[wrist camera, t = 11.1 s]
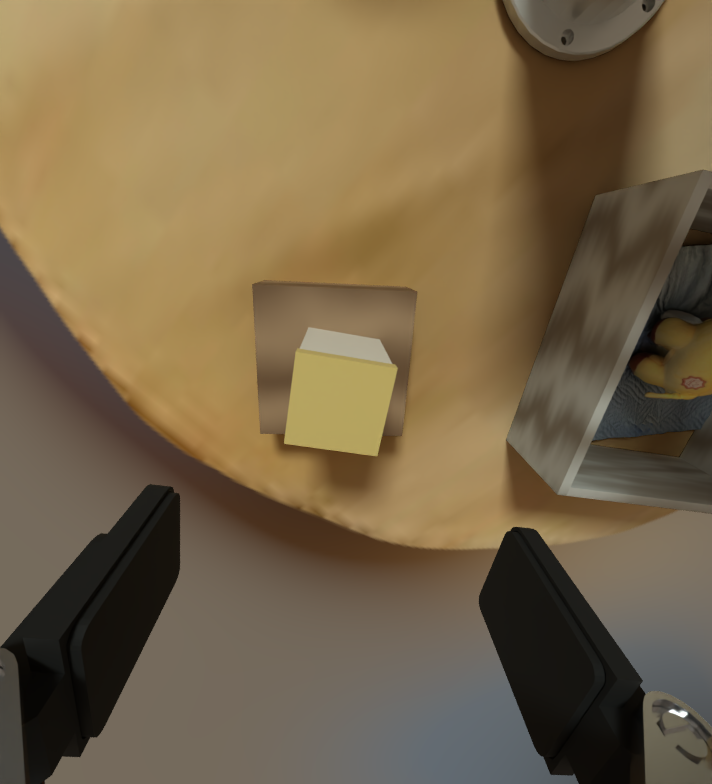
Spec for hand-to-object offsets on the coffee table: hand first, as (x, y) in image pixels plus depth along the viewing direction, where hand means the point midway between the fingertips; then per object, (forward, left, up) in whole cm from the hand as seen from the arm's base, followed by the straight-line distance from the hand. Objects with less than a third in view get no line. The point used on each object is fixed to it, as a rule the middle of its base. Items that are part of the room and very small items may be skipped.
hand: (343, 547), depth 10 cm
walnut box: (0, 0, -24) cm, 24 cm away
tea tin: (0, 0, -19) cm, 19 cm away
